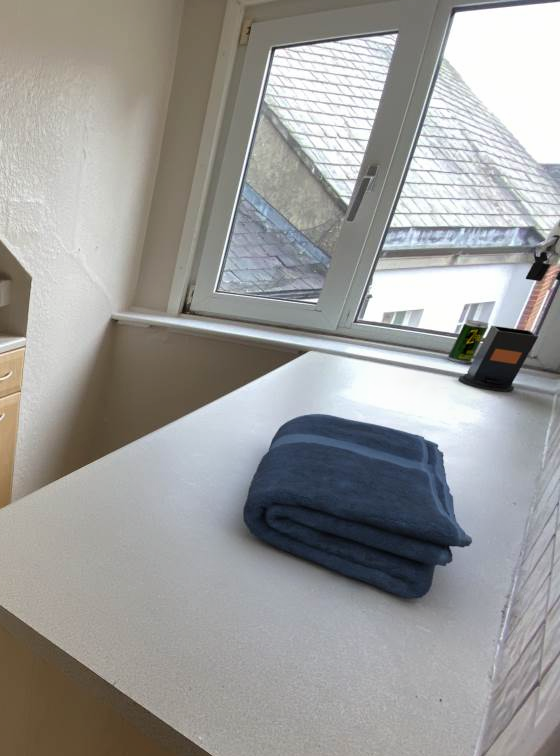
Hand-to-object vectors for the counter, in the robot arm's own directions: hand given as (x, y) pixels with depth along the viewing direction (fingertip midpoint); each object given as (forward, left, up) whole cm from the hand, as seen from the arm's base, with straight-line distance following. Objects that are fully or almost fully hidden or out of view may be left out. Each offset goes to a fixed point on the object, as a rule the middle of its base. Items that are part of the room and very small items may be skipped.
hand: (548, 280), depth 138 cm
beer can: (+4, -23, -28) cm, 36 cm away
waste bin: (+2, +4, -27) cm, 28 cm away
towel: (+36, +108, -28) cm, 117 cm away
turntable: (+2, +4, -27) cm, 28 cm away
